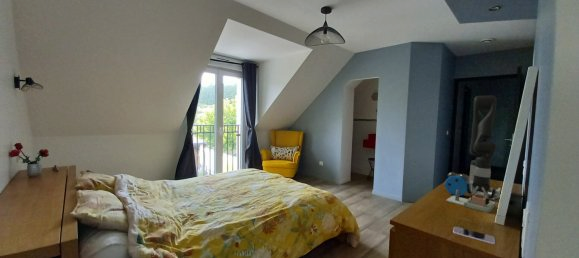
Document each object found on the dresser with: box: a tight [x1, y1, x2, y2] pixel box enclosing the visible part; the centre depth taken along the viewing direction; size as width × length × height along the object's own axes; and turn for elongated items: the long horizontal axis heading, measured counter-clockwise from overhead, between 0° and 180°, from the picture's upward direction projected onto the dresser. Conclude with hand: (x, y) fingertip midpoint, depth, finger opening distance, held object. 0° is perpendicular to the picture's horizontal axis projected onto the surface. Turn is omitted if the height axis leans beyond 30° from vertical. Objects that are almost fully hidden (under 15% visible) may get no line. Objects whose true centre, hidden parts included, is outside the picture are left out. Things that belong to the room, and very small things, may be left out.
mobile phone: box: [452, 226, 496, 245], centre depth 109 cm, size 8×1×15 cm
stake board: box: [445, 190, 469, 206], centre depth 150 cm, size 13×9×7 cm
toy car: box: [468, 180, 502, 203], centre depth 160 cm, size 18×10×12 cm
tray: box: [463, 196, 496, 214], centre depth 142 cm, size 16×12×2 cm
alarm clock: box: [444, 171, 469, 197], centre depth 161 cm, size 13×6×15 cm, turn 45°
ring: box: [471, 194, 486, 207], centre depth 142 cm, size 11×6×4 cm, turn 130°
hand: (479, 202), depth 142 cm, fingers closed on ring, 5 cm apart
